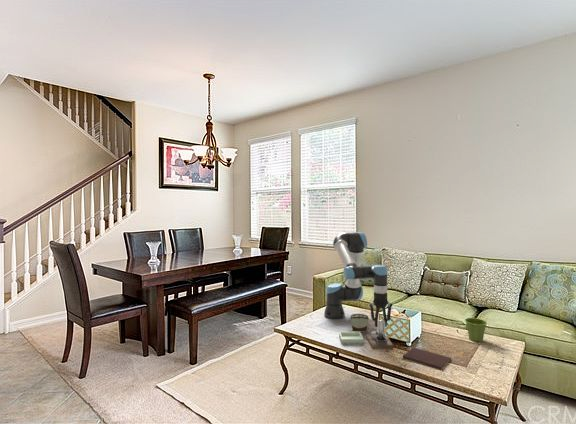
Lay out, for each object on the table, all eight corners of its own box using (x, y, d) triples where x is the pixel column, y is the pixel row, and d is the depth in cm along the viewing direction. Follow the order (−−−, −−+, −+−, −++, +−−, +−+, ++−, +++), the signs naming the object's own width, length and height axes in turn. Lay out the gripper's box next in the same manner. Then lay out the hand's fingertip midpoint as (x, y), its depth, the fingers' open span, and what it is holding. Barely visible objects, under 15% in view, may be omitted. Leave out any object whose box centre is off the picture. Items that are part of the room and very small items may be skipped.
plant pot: (465, 341, 197) (464, 322, 197) (464, 334, 207) (464, 316, 207) (488, 345, 191) (488, 325, 191) (486, 337, 202) (486, 319, 202)
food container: (367, 328, 221) (367, 313, 221) (369, 331, 215) (369, 316, 215) (349, 328, 222) (349, 313, 222) (350, 331, 216) (349, 316, 216)
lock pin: (377, 337, 194) (377, 320, 194) (382, 337, 194) (382, 320, 194) (378, 339, 191) (378, 322, 191) (384, 339, 191) (384, 321, 191)
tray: (339, 336, 208) (339, 331, 208) (359, 336, 207) (359, 331, 207) (341, 344, 196) (341, 339, 196) (363, 344, 196) (363, 339, 195)
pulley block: (366, 337, 205) (366, 328, 205) (385, 337, 205) (385, 328, 205) (371, 348, 189) (371, 339, 189) (393, 348, 189) (393, 339, 189)
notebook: (413, 350, 188) (413, 346, 188) (450, 360, 174) (450, 356, 174) (402, 359, 177) (402, 355, 177) (441, 371, 163) (441, 367, 163)
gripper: (368, 293, 188) (368, 334, 189) (396, 293, 188) (396, 334, 188) (365, 290, 196) (365, 329, 196) (392, 290, 195) (392, 329, 196)
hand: (380, 332), depth 192 cm, fingers closed on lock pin, 3 cm apart
